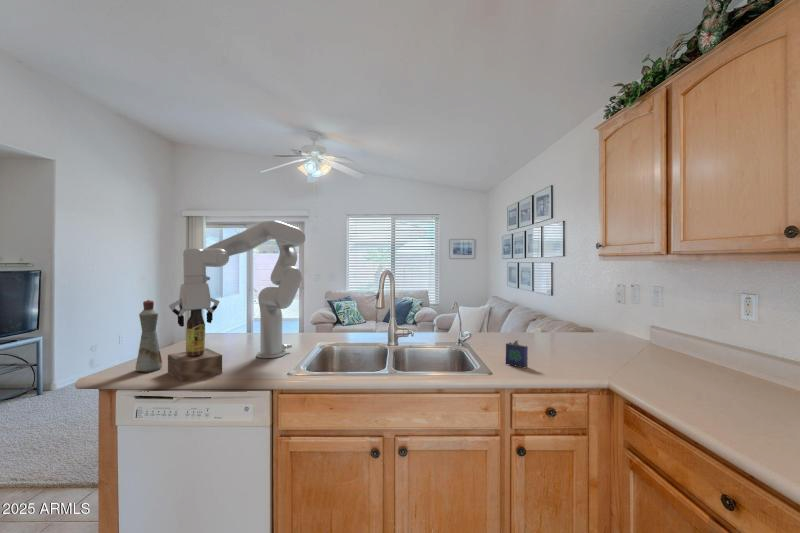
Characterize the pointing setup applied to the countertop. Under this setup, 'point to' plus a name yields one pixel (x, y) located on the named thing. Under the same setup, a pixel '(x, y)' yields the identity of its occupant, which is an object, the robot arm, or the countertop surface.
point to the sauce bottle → (195, 334)
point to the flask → (516, 354)
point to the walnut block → (194, 365)
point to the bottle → (148, 340)
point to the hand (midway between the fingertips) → (195, 324)
